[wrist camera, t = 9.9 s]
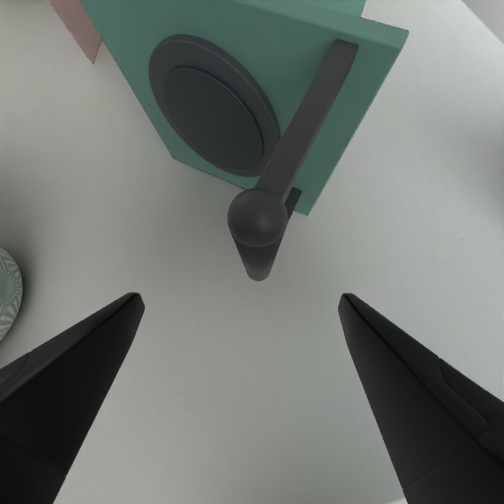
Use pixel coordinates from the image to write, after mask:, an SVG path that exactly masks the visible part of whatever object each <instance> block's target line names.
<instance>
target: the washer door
mask: <svg viewBox="0 0 504 504" xmlns="http://www.w3.org/2000/svg"><path fill="white" fill-rule="evenodd" d="M79 1H80V3H81V4H82V6H83V8H84V9H85V11H86V13H87V14H88V16H89V18H90V19H91V21H92V23H93V24H94V26H95V28H96V29H97V31H98V33H99V35H100V36H101V38H102V40H103V41H104V43H105V45H106V46H107V48H108V50H109V51H110V53H111V55H112V56H113V58H114V60H115V61H116V63H117V65H118V66H119V68H120V70H121V71H122V73H123V75H124V76H125V78H126V80H127V81H128V83H129V85H130V87H131V88H132V90H133V92H134V93H135V95H136V97H137V98H138V100H139V102H140V103H141V105H142V107H143V108H144V110H145V112H146V113H147V115H148V117H149V118H150V120H151V122H152V123H153V125H154V127H155V128H156V130H157V132H158V134H159V135H160V137H161V139H162V140H163V142H164V144H165V145H166V147H167V149H168V150H169V152H170V154H171V155H172V157H173V158H174V159H177V160H179V161H181V162H184V163H186V164H188V165H191V166H193V167H195V168H198V169H200V170H202V171H204V172H207V173H209V174H211V175H214V176H216V177H218V178H221V179H223V180H225V181H228V182H230V183H232V184H235V185H237V186H239V187H242V188H244V189H246V190H245V191H243V192H241V193H240V194H238V195H237V196H236V197H235V198H234V200H233V201H232V203H231V205H230V207H229V210H228V226H229V229H230V232H231V234H232V237H233V239H234V242H235V244H236V247H237V249H238V251H239V254H240V256H241V259H242V261H243V264H244V266H245V269H246V271H247V274H248V276H249V277H250V278H251V279H253V280H255V281H262V280H264V279H266V278H267V277H268V275H269V273H270V270H271V268H272V265H273V262H274V259H275V257H276V254H277V251H278V248H279V246H280V243H281V240H282V237H283V235H284V232H285V229H286V226H287V223H288V221H289V219H290V217H291V215H292V213H293V211H294V210H295V211H298V212H300V213H302V214H305V215H307V216H308V215H309V213H310V211H311V209H312V207H313V206H314V204H315V202H316V200H317V199H318V197H319V195H320V193H321V192H322V190H323V188H324V186H325V184H326V183H327V181H328V179H329V177H330V176H331V174H332V172H333V170H334V169H335V167H336V165H337V163H338V161H339V160H340V158H341V156H342V154H343V153H344V151H345V149H346V147H347V146H348V144H349V142H350V140H351V138H352V137H353V135H354V133H355V131H356V130H357V128H358V126H359V124H360V123H361V121H362V119H363V117H364V115H365V114H366V112H367V110H368V108H369V107H370V105H371V103H372V101H373V100H374V98H375V96H376V94H377V92H378V91H379V89H380V87H381V85H382V84H383V82H384V80H385V78H386V77H387V75H388V73H389V71H390V69H391V68H392V66H393V64H394V62H395V61H396V59H397V57H398V55H399V54H400V52H401V50H402V48H403V46H404V44H405V41H406V39H407V37H408V34H409V31H408V30H405V29H402V28H398V27H394V26H391V25H387V24H383V23H380V22H376V21H372V20H369V19H365V18H361V17H358V16H354V15H350V14H347V13H343V12H339V11H336V10H332V9H328V8H325V7H321V6H317V5H314V4H310V3H307V2H303V1H299V0H79Z"/></svg>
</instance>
